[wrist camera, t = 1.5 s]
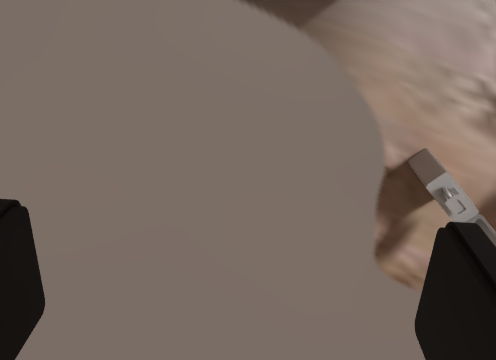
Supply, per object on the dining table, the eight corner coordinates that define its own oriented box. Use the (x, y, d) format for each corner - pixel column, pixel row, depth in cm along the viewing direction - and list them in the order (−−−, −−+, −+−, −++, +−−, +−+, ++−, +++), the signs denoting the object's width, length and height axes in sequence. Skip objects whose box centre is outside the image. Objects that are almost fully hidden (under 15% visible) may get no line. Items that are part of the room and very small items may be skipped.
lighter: (406, 161, 35) (444, 213, 28) (426, 147, 35) (470, 196, 27) (457, 223, 37) (504, 287, 30) (476, 211, 37) (529, 272, 30)
